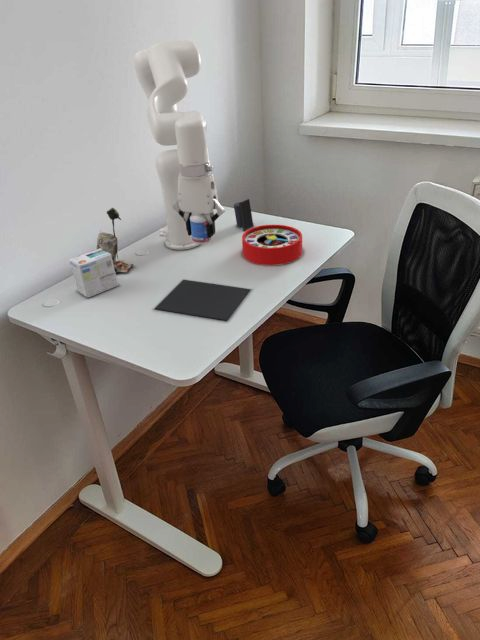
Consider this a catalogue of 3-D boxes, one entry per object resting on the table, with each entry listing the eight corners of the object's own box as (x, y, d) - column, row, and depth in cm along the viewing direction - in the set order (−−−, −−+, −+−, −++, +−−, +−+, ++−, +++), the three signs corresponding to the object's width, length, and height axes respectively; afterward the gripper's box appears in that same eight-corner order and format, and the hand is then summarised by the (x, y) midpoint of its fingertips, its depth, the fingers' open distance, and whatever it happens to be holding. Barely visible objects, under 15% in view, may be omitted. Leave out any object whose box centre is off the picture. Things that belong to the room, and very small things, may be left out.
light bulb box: (107, 279, 163) (100, 247, 157) (119, 286, 159) (112, 253, 153) (76, 291, 157) (67, 258, 151) (87, 298, 153) (79, 265, 147)
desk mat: (154, 309, 147) (154, 308, 147) (183, 280, 161) (183, 279, 161) (226, 321, 141) (226, 319, 141) (249, 290, 154) (249, 289, 154)
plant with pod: (108, 262, 174) (94, 203, 162) (137, 266, 170) (126, 206, 159) (93, 272, 167) (79, 212, 156) (123, 277, 164) (111, 216, 153)
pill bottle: (208, 245, 145) (205, 211, 139) (190, 244, 145) (186, 210, 140) (213, 237, 149) (210, 204, 143) (195, 236, 150) (192, 203, 144)
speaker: (257, 227, 194) (253, 199, 188) (243, 231, 191) (239, 203, 186) (247, 222, 199) (243, 195, 194) (234, 226, 197) (230, 199, 192)
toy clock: (256, 221, 183) (310, 228, 176) (257, 237, 187) (310, 244, 180) (231, 243, 168) (289, 252, 162) (232, 260, 172) (289, 269, 165)
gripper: (230, 167, 136) (234, 232, 147) (171, 163, 141) (179, 226, 151) (219, 175, 130) (224, 243, 141) (158, 171, 135) (167, 236, 146)
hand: (201, 234), depth 146 cm, fingers closed on pill bottle, 5 cm apart
